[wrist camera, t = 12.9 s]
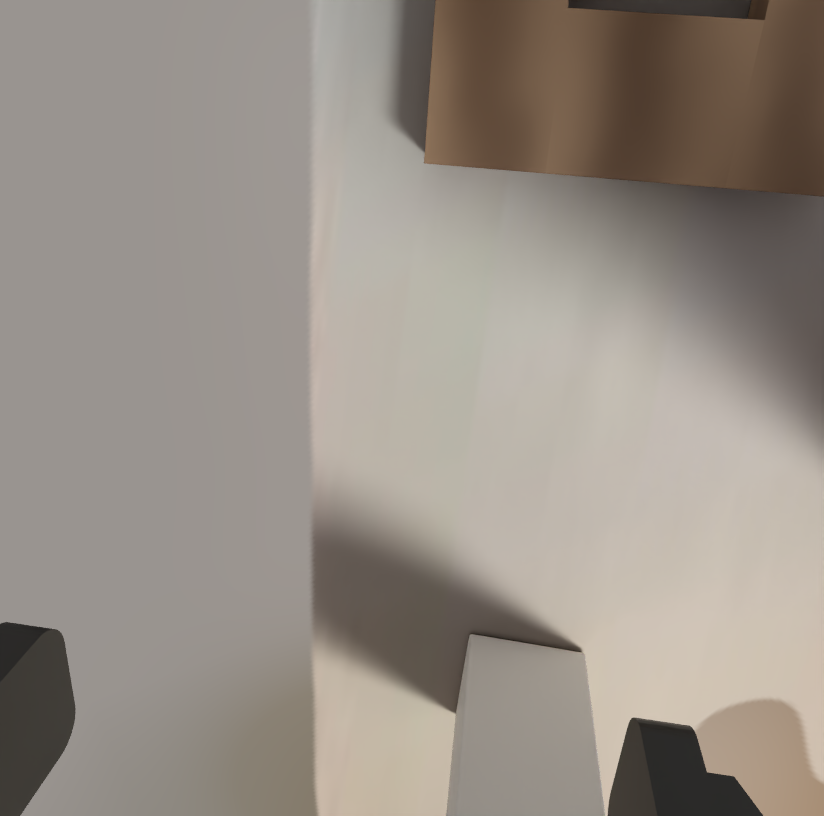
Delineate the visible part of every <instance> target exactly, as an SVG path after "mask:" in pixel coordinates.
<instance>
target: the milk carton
mask: <svg viewBox="0 0 824 816" xmlns="http://www.w3.org/2000/svg"><path fill="white" fill-rule="evenodd" d="M446 816H605V809H604V801H603V793H602V785H601V777H600V769H599V761H598V753H597V745H596V737H595V729H594V721H593V713H592V705H591V697H590V689H589V681H588V673H587V665H586V657H585V654H584V653H581V652H575V651H569V650H563V649H557V648H552V647H546V646H540V645H534V644H528V643H522V642H516V641H510V640H504V639H498V638H492V637H486V636H480V635H474V634H470V636H469V640H468V646H467V651H466V657H465V663H464V669H463V675H462V681H461V686H460V692H459V698H458V704H457V710H456V718H455V728H454V739H453V750H452V760H451V771H450V781H449V792H448V803H447V813H446Z"/></svg>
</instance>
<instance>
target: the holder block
mask: <svg viewBox="0 0 824 816" xmlns="http://www.w3.org/2000/svg"><path fill="white" fill-rule="evenodd" d="M568 3H569V0H435V14H434V29H433V43H432V57H431V72H430V86H429V100H428V115H427V129H426V143H425V157H424V163H427V164H439V165H451V166H463V167H475V168H487V169H499V170H511V171H523V172H536V173H548V174H560V175H572V176H584V177H596V178H608V179H620V180H632V181H644V182H656V183H668V184H680V185H692V186H704V187H716V188H728V189H740V190H752V191H764V192H776V193H789V194H801V195H813V196H824V0H751V5H750V9H749V13H748V18H747V19H739V18H723V17H707V16H691V15H675V14H659V13H643V12H627V11H611V10H595V9H579V8H568Z"/></svg>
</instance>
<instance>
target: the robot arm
mask: <svg viewBox="0 0 824 816" xmlns="http://www.w3.org/2000/svg"><path fill="white" fill-rule="evenodd" d="M74 720H75V702H74V697H73V691H72V685H71V678H70V673H69V666H68V661H67V654H66V648H65V642H64V638H63V636H62V634H61V633H60V631H58V630H55V629H49V628H43V627H36V626H29V625H22V624H16V623H8V622H5V623H1V624H0V816H20V815H21V814H22V812H23V811H24V809H25V808H26V806H27V805H28V803H29V802H30V800H31V799H32V797H33V796H34V794H35V793H36V791H37V790H38V789H39V787H40V786H41V784H42V783H43V781H44V780H45V778H46V777H47V775H48V774H49V772H50V771H51V769H52V768H53V767H54V765H55V764H56V762H57V761H58V759H59V758H60V756H61V754H62V753H63V751H64V750H65V748H66V746H67V743H68V741H69V739H70V736H71V733H72V729H73V725H74ZM608 816H763V815H762V813H761V812H760V811H759V809H758V808H757V807H756V805H755V804H754V803H753V801H752V800H751V799H750V797H749V796H748V795H747V793H746V792H745V791H744V789H743V788H742V787H741V785H740V784H739V783H738V781H737V780H736V779H735V777H733V776H726V775H720V774H714V773H707V771H706V768H705V764H704V761H703V757H702V753H701V750H700V746H699V743H698V739H697V736H696V734H695V732H694V730H693V728H692V727H691V726H687V725H680V724H674V723H667V722H660V721H653V720H647V719H640V718H632V719H631V720H630V722H629V725H628V728H627V732H626V735H625V739H624V743H623V747H622V751H621V755H620V759H619V763H618V766H617V770H616V774H615V778H614V782H613V786H612V790H611V794H610V799H609V807H608Z"/></svg>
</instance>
